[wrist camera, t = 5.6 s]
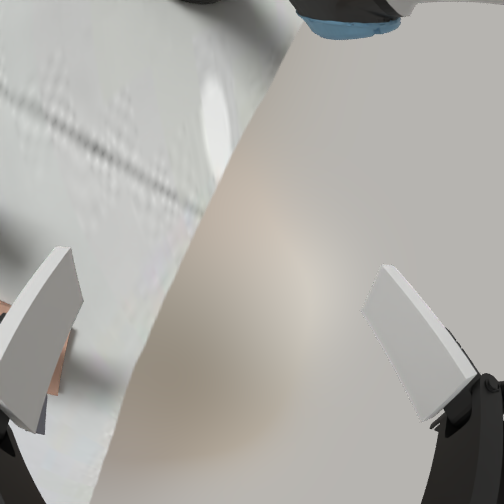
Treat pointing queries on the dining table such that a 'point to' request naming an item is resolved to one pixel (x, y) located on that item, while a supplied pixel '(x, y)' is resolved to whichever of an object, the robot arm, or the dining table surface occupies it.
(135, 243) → the dining table surface
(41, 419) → the domino
